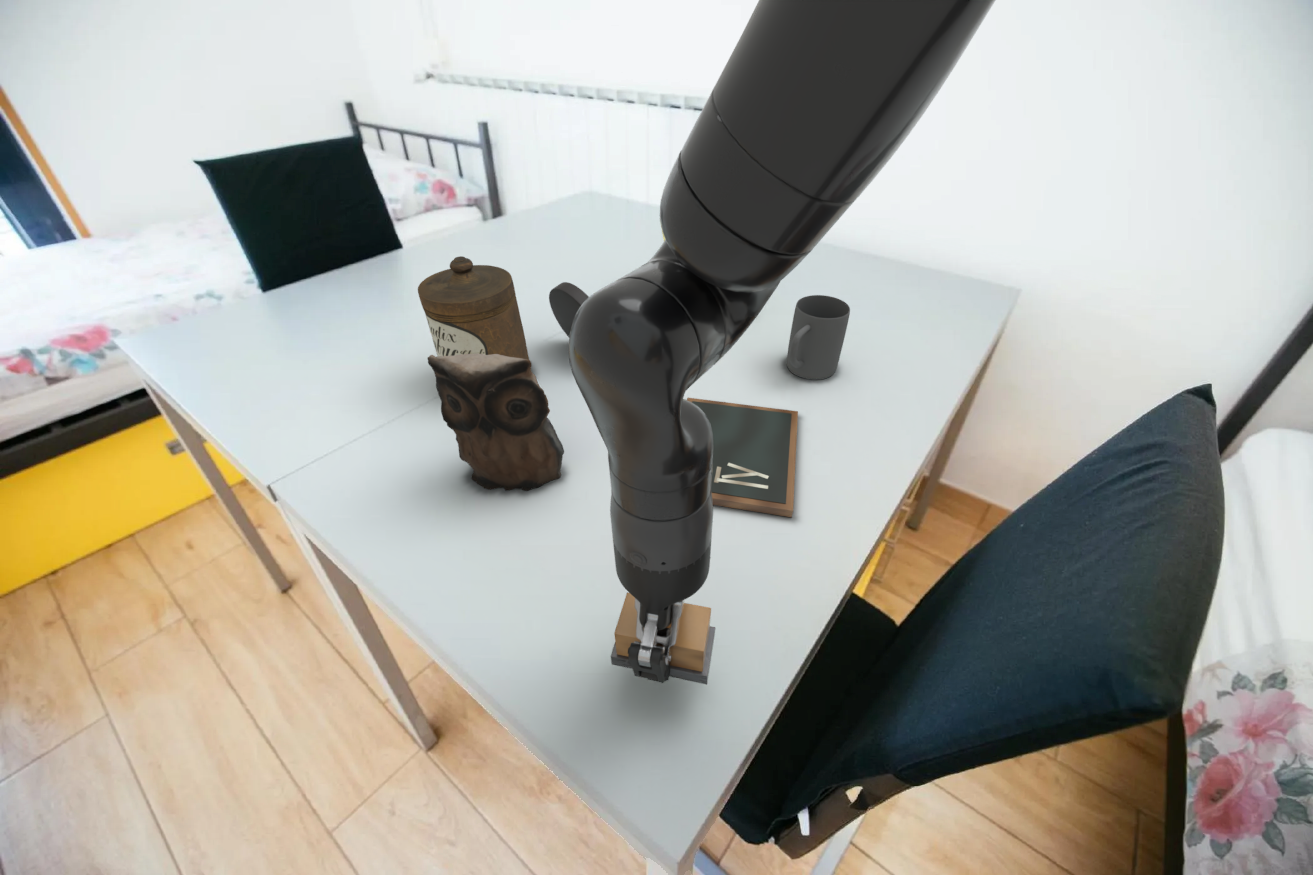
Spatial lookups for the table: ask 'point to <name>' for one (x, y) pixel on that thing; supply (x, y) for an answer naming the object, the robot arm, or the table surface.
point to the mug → (817, 336)
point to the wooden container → (473, 311)
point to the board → (752, 456)
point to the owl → (498, 419)
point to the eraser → (688, 650)
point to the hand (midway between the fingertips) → (664, 647)
